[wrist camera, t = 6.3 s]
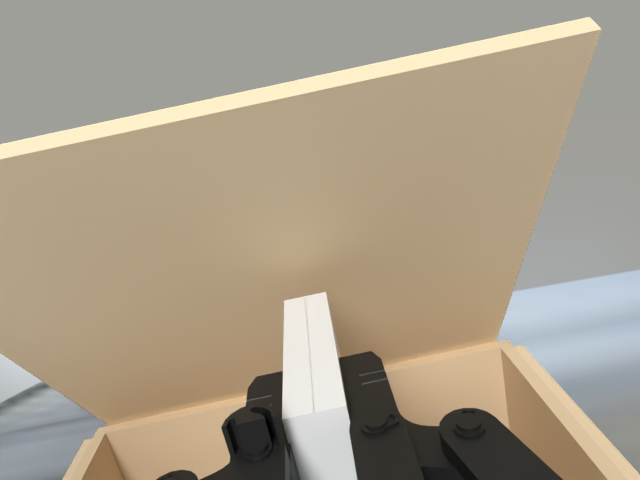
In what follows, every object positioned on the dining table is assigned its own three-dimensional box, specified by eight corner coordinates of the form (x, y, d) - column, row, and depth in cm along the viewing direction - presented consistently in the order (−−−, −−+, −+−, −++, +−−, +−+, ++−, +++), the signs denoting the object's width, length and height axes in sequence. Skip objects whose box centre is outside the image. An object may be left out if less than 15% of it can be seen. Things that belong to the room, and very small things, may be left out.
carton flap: (-221, 206, 13) (-209, 189, 13) (109, 425, 27) (110, 414, 27) (601, 29, 13) (589, 17, 13) (495, 341, 27) (491, 331, 27)
